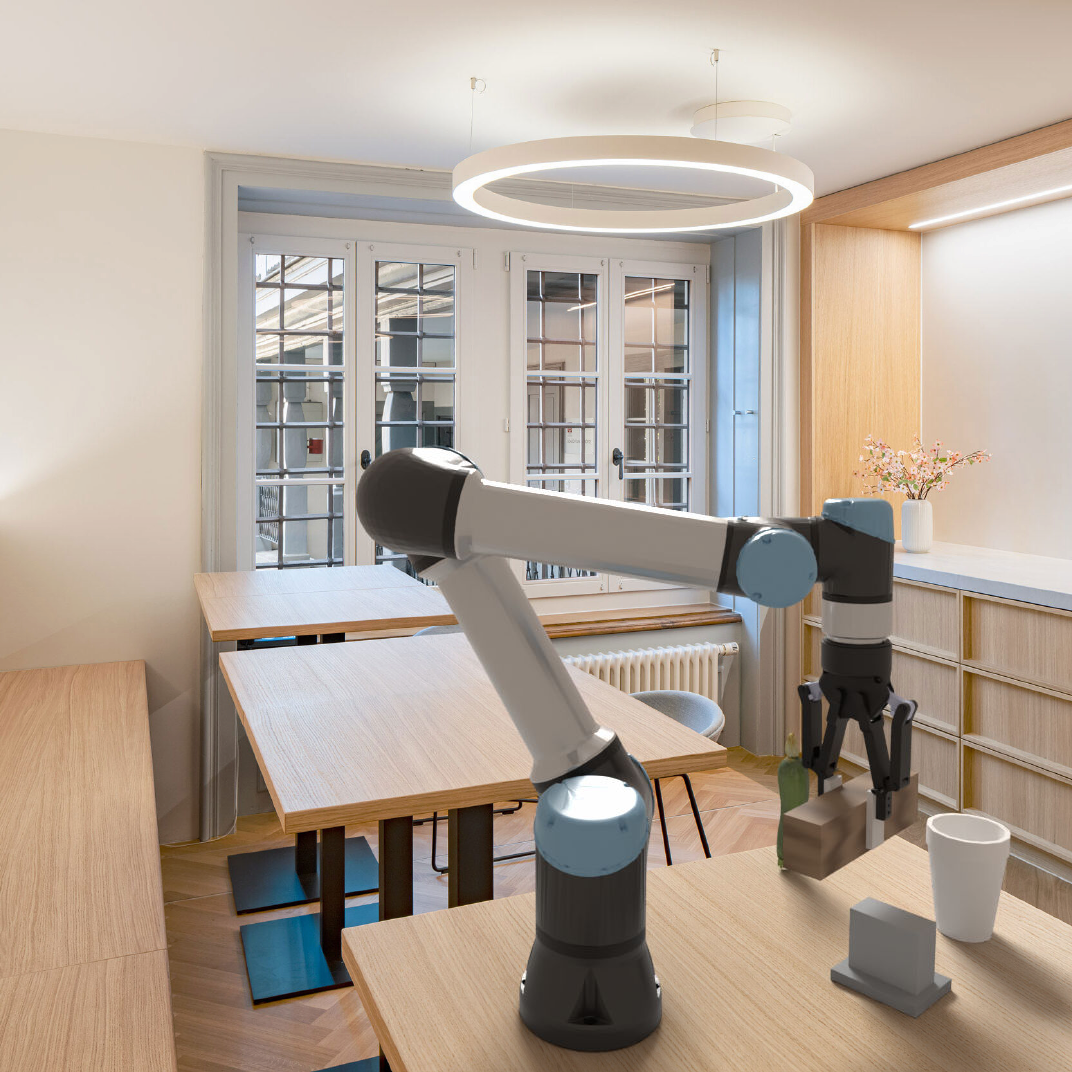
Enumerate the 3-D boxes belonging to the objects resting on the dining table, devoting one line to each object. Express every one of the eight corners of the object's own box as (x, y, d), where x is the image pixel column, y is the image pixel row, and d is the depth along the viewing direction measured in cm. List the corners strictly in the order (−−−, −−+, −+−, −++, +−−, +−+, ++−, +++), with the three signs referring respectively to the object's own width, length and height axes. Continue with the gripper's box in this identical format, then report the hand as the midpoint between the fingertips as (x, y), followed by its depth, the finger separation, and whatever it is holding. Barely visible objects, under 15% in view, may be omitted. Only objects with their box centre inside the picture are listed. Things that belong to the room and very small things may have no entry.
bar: (820, 880, 101) (820, 825, 100) (783, 867, 104) (783, 814, 104) (917, 821, 116) (918, 772, 115) (882, 811, 119) (882, 763, 119)
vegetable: (783, 859, 139) (787, 723, 138) (812, 867, 137) (816, 729, 135) (770, 869, 136) (773, 731, 134) (799, 878, 133) (802, 737, 131)
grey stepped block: (915, 1018, 101) (918, 945, 100) (830, 978, 108) (832, 910, 108) (951, 989, 106) (954, 919, 105) (867, 953, 114) (869, 888, 113)
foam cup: (928, 943, 116) (932, 839, 115) (917, 907, 125) (921, 810, 124) (1014, 953, 114) (1019, 846, 112) (997, 916, 123) (1001, 817, 121)
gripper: (949, 642, 104) (944, 851, 106) (804, 622, 117) (802, 809, 119) (918, 653, 99) (913, 873, 101) (769, 631, 112) (768, 827, 114)
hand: (853, 838), depth 110 cm, fingers closed on bar, 4 cm apart
